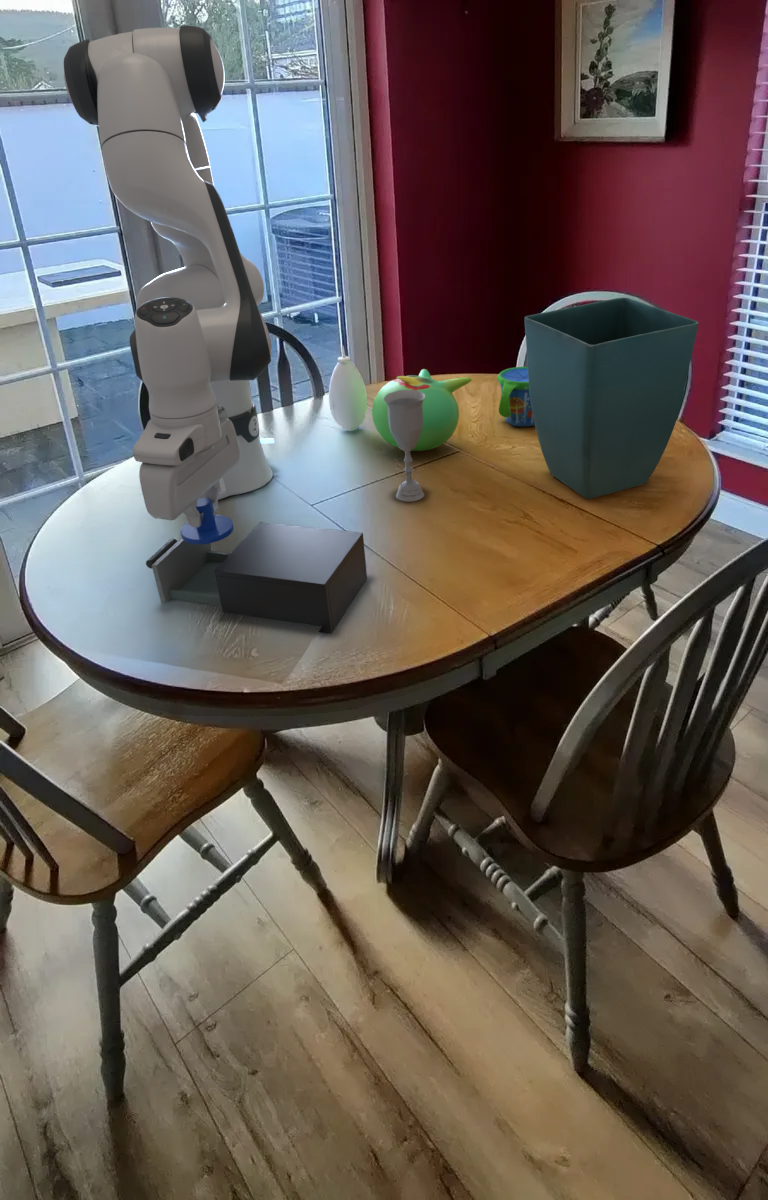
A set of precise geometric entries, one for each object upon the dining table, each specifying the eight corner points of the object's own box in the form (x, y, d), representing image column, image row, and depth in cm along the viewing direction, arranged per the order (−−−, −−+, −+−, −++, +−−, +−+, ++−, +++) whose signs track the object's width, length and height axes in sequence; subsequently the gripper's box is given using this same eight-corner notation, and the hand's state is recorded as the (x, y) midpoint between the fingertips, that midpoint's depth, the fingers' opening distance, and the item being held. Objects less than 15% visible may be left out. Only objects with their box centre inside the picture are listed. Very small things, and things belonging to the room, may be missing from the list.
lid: (171, 541, 118) (164, 511, 116) (198, 517, 124) (191, 488, 122) (218, 547, 116) (211, 516, 113) (242, 521, 122) (237, 492, 119)
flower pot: (578, 515, 137) (590, 343, 121) (518, 472, 152) (522, 315, 137) (679, 489, 142) (702, 321, 127) (611, 449, 158) (624, 296, 143)
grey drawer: (139, 602, 122) (128, 562, 118) (188, 555, 133) (179, 517, 130) (263, 620, 116) (256, 578, 112) (304, 569, 127) (298, 529, 123)
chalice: (425, 504, 144) (421, 405, 134) (387, 503, 145) (380, 404, 135) (431, 486, 150) (428, 389, 140) (395, 485, 151) (388, 389, 141)
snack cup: (526, 405, 181) (527, 359, 175) (566, 415, 174) (569, 368, 169) (479, 427, 172) (479, 379, 166) (520, 439, 165) (521, 389, 160)
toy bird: (359, 444, 169) (353, 373, 161) (425, 422, 176) (421, 354, 168) (412, 471, 156) (408, 395, 148) (480, 446, 164) (480, 373, 156)
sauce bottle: (347, 420, 181) (339, 337, 171) (376, 426, 177) (369, 341, 167) (325, 432, 175) (315, 347, 166) (354, 438, 171) (346, 352, 162)
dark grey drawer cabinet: (223, 618, 118) (213, 570, 114) (268, 567, 129) (260, 521, 125) (331, 634, 113) (324, 584, 108) (367, 579, 124) (363, 532, 120)
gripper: (204, 398, 120) (219, 484, 128) (124, 455, 104) (147, 549, 112) (243, 401, 118) (256, 489, 126) (167, 459, 102) (187, 555, 110)
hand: (204, 518), depth 119 cm, fingers closed on lid, 3 cm apart
